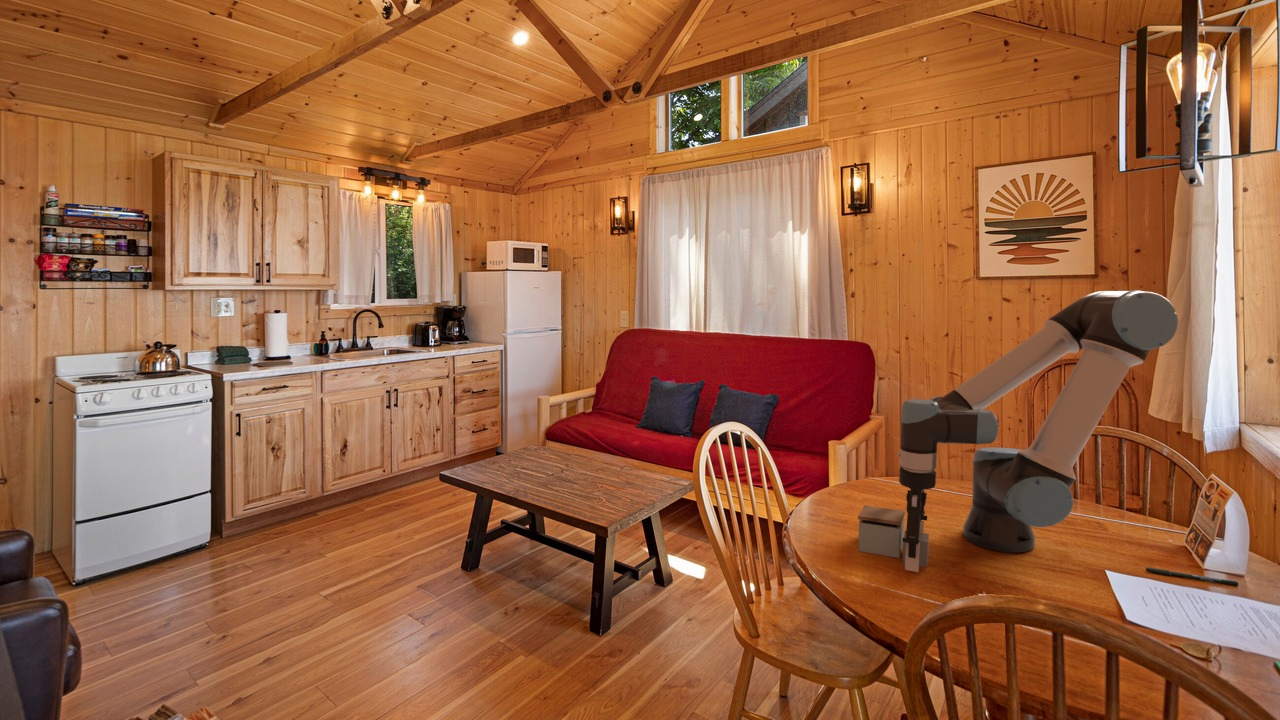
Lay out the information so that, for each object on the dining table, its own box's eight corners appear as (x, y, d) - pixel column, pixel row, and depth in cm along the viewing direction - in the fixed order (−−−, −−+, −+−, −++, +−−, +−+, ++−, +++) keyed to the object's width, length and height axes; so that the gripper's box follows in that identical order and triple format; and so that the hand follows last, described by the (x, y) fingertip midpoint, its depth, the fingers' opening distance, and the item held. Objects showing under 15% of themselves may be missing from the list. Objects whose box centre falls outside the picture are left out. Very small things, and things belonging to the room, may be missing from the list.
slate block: (928, 558, 140) (928, 533, 139) (926, 567, 136) (927, 542, 135) (904, 554, 142) (905, 530, 142) (902, 563, 138) (903, 538, 137)
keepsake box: (903, 541, 149) (903, 514, 149) (899, 557, 141) (899, 529, 140) (864, 535, 154) (865, 509, 153) (858, 551, 145) (858, 522, 144)
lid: (904, 514, 149) (904, 510, 149) (900, 525, 140) (900, 522, 140) (864, 508, 153) (864, 505, 153) (858, 519, 144) (858, 515, 144)
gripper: (904, 453, 149) (902, 535, 152) (893, 481, 128) (890, 577, 130) (938, 456, 146) (935, 541, 148) (932, 486, 124) (928, 585, 126)
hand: (914, 558), depth 139 cm, fingers open, 13 cm apart
